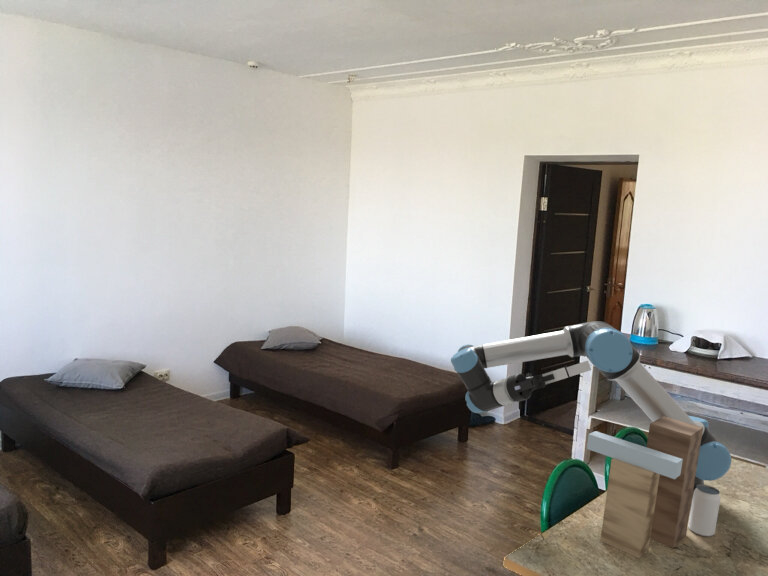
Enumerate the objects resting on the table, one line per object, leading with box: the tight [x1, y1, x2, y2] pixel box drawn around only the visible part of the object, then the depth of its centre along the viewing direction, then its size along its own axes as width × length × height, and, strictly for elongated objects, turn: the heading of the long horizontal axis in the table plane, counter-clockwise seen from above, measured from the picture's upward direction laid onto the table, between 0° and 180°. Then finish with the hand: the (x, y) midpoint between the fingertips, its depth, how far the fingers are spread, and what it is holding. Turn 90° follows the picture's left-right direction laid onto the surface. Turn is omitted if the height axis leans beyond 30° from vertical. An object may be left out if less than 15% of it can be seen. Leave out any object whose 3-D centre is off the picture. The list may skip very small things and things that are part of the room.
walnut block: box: [646, 416, 703, 549], centre depth 163 cm, size 10×10×30 cm
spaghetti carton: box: [586, 430, 683, 479], centre depth 155 cm, size 22×4×4 cm, turn 47°
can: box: [687, 484, 721, 538], centre depth 168 cm, size 6×6×12 cm
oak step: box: [600, 458, 660, 559], centre depth 156 cm, size 6×10×22 cm, turn 47°
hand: (577, 368), depth 164 cm, fingers open, 13 cm apart
